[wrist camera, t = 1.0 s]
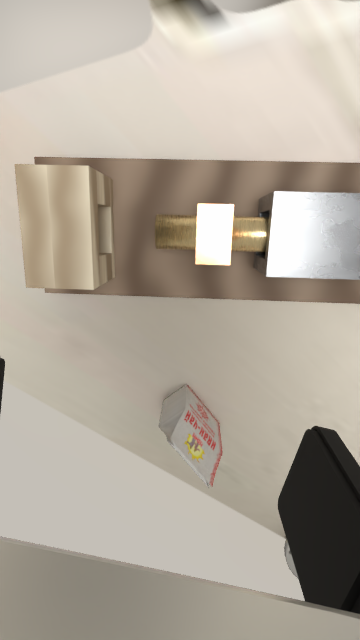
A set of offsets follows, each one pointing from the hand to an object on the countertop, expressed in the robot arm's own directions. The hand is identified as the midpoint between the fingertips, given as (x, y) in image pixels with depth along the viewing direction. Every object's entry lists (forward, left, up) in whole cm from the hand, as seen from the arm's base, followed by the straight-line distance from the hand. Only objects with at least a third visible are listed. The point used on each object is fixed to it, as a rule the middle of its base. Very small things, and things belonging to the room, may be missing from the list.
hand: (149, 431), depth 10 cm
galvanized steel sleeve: (-14, -6, -28) cm, 32 cm away
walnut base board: (-3, -6, -29) cm, 30 cm away
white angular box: (-1, +16, -30) cm, 34 cm away
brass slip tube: (-8, -6, -26) cm, 28 cm away
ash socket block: (+11, -6, -28) cm, 30 cm away
